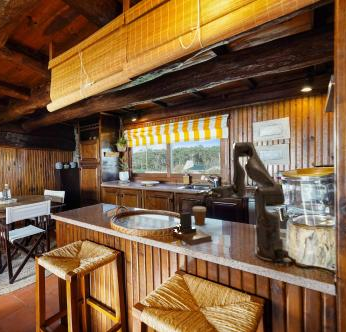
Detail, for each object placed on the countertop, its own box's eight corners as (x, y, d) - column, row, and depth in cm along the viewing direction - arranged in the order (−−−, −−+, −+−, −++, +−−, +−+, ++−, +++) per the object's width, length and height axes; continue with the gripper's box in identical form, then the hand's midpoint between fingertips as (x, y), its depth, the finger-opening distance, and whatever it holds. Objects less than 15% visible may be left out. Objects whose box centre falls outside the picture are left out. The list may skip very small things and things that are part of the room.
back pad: (192, 230, 130) (191, 213, 130) (183, 232, 128) (183, 214, 128) (188, 229, 133) (187, 211, 133) (180, 230, 131) (179, 213, 131)
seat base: (211, 240, 120) (211, 231, 120) (191, 245, 116) (191, 235, 115) (190, 231, 137) (190, 223, 137) (172, 235, 132) (172, 226, 132)
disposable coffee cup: (209, 225, 148) (208, 208, 147) (195, 226, 148) (194, 209, 147) (203, 221, 157) (203, 205, 157) (191, 222, 157) (190, 206, 157)
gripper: (210, 186, 146) (191, 188, 141) (227, 188, 133) (207, 190, 127) (211, 197, 146) (192, 199, 141) (228, 200, 133) (207, 203, 127)
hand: (199, 195), depth 134 cm, fingers open, 8 cm apart
